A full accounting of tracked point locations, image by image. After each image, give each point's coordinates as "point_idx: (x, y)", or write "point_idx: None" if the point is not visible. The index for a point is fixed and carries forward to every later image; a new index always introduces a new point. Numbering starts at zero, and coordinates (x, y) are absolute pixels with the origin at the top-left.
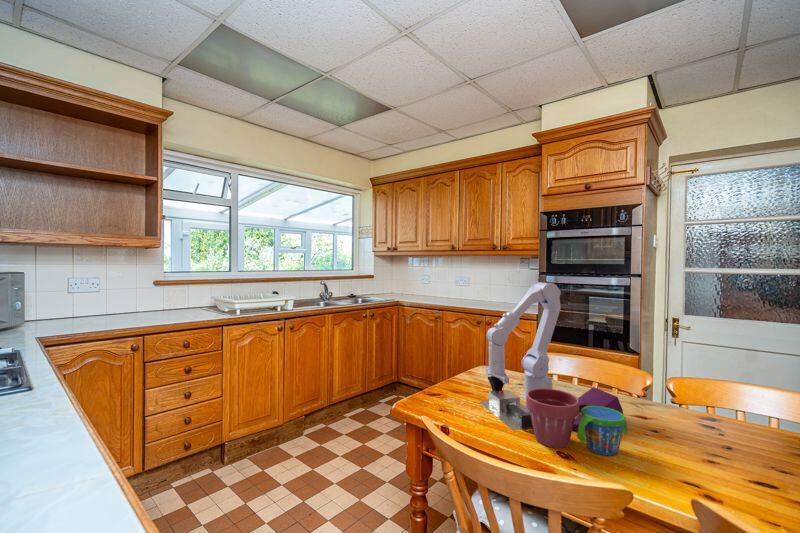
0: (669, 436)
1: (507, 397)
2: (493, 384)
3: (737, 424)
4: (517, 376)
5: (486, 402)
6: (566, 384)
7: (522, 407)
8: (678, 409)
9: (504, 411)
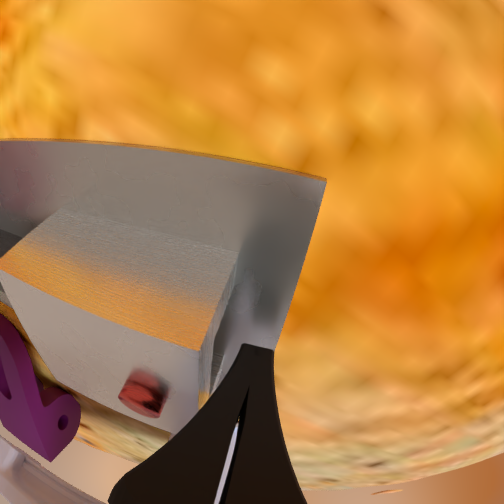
0: None
1: (38, 338)
2: (172, 458)
3: (76, 437)
4: (423, 471)
5: (260, 238)
6: None
7: None
8: (117, 455)
9: None
